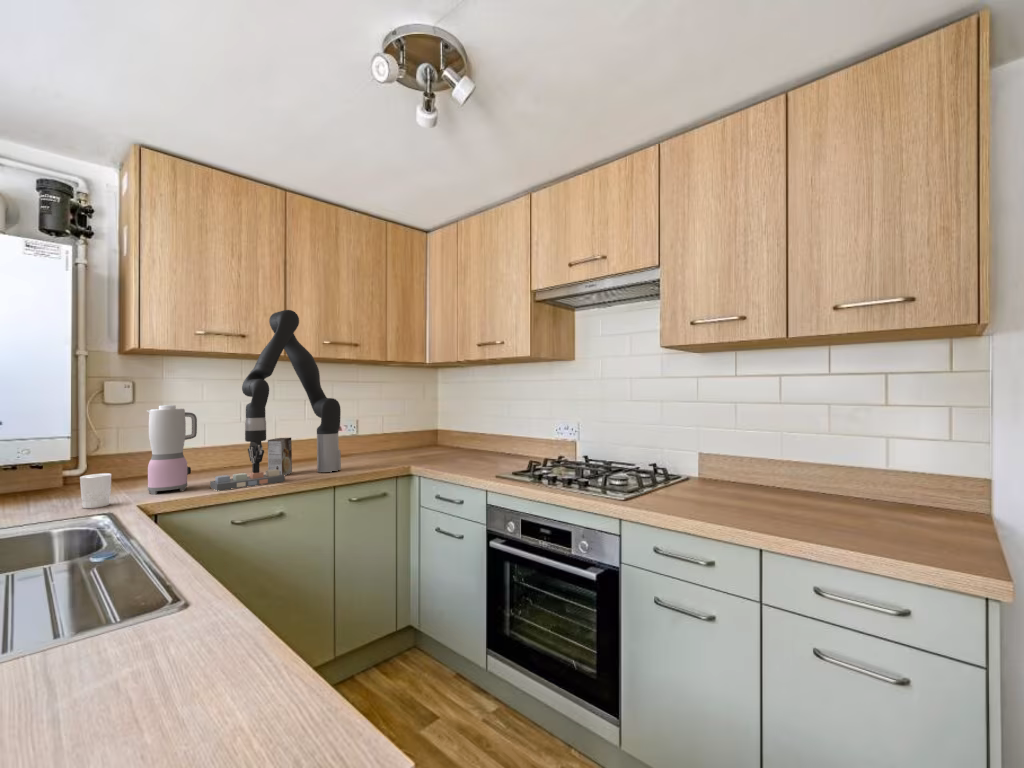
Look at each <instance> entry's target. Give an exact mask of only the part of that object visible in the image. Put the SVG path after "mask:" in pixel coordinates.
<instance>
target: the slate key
mask: <svg viewBox="0 0 1024 768" xmlns="http://www.w3.org/2000/svg"><path fill="white" fill-rule="evenodd" d="M214 478H215V480H214V481H215V482H216V483H223V482H230V479H231V476H230V475H227V474H226V475H225V474H224V475H217V476H215V477H214Z"/></svg>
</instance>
